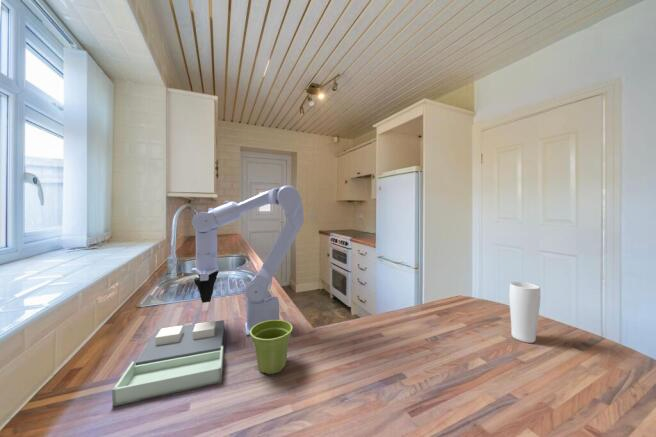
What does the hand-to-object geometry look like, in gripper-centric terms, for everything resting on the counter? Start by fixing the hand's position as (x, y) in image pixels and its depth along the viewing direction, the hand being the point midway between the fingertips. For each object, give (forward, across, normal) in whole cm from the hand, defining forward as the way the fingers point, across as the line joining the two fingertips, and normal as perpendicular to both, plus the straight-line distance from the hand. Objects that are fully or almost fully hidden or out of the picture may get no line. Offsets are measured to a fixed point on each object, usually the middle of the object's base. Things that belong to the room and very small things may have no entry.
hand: (207, 298), depth 73 cm
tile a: (+7, +8, 0) cm, 10 cm away
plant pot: (+10, +24, +16) cm, 30 cm away
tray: (+9, +21, -4) cm, 24 cm away
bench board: (+9, +8, -4) cm, 13 cm away
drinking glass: (+10, +36, +82) cm, 91 cm away
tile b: (+7, +8, -8) cm, 13 cm away
